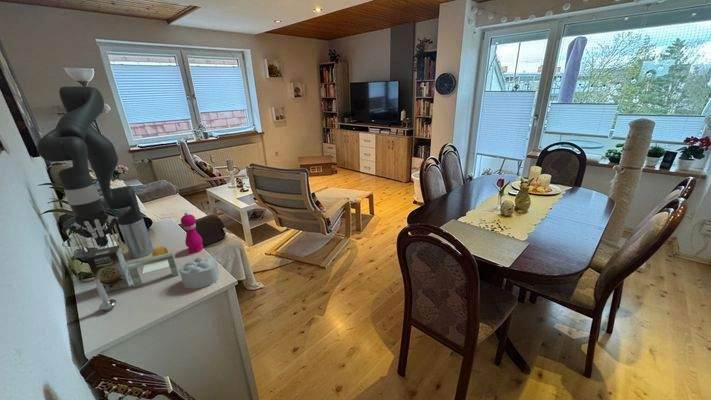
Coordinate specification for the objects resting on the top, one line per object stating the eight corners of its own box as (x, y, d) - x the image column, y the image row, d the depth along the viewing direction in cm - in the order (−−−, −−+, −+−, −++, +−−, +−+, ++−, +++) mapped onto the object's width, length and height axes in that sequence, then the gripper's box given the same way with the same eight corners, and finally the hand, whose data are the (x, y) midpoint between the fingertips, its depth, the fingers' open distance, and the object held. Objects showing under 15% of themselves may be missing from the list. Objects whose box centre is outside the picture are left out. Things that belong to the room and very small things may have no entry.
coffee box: (100, 294, 110) (84, 258, 104) (105, 284, 115) (90, 250, 109) (129, 286, 113) (115, 251, 108) (132, 277, 119) (119, 244, 113)
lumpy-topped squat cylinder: (217, 284, 113) (212, 266, 110) (180, 292, 109) (174, 273, 106) (220, 269, 122) (216, 252, 119) (186, 276, 119) (181, 258, 115)
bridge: (136, 283, 115) (128, 263, 112) (178, 271, 122) (172, 252, 118) (135, 287, 113) (127, 267, 109) (178, 275, 119) (172, 255, 116)
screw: (120, 302, 105) (113, 312, 100) (105, 305, 104) (97, 314, 99) (108, 273, 100) (99, 282, 95) (92, 275, 99) (83, 284, 95)
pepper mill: (207, 248, 139) (197, 210, 132) (193, 255, 134) (182, 216, 126) (199, 244, 143) (189, 208, 136) (184, 251, 137) (173, 213, 130)
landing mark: (145, 260, 131) (145, 260, 131) (175, 252, 136) (175, 252, 136) (142, 274, 121) (142, 273, 121) (174, 265, 126) (174, 264, 126)
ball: (151, 246, 131) (149, 253, 126) (166, 242, 133) (165, 249, 128) (155, 256, 133) (153, 263, 129) (170, 252, 136) (169, 260, 131)
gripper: (112, 192, 98) (128, 236, 105) (61, 200, 92) (81, 246, 99) (108, 198, 92) (126, 245, 99) (53, 208, 86) (75, 256, 93)
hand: (103, 245), depth 99 cm, fingers closed
